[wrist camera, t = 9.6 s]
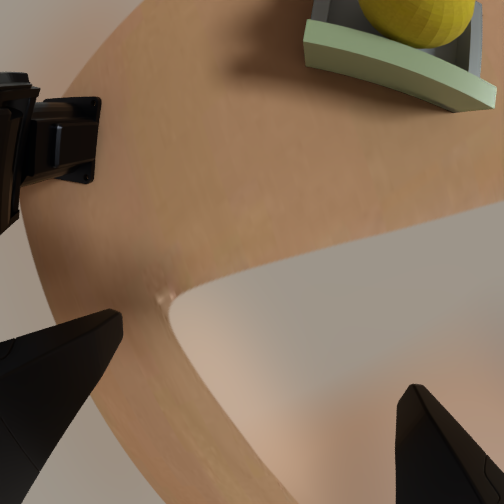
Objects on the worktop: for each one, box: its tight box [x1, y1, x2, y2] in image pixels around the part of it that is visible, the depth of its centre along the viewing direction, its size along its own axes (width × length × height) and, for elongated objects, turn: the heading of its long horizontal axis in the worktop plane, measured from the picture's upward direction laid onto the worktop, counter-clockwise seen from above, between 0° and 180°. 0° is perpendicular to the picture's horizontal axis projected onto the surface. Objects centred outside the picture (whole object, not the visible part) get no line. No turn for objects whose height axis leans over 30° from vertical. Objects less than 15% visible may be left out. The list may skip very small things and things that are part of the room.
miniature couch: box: [303, 0, 497, 113], centre depth 11 cm, size 10×8×5 cm
